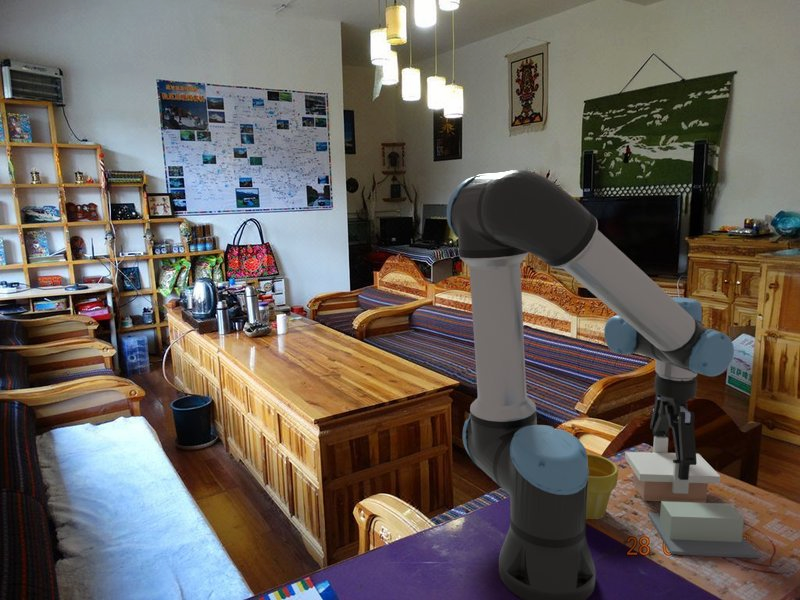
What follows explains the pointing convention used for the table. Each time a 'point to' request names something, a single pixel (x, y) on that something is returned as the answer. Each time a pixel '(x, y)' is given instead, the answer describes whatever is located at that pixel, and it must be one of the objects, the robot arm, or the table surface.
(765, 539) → the table surface
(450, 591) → the table surface
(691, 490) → the open box
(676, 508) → the stand
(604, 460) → the plant pot
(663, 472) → the board
